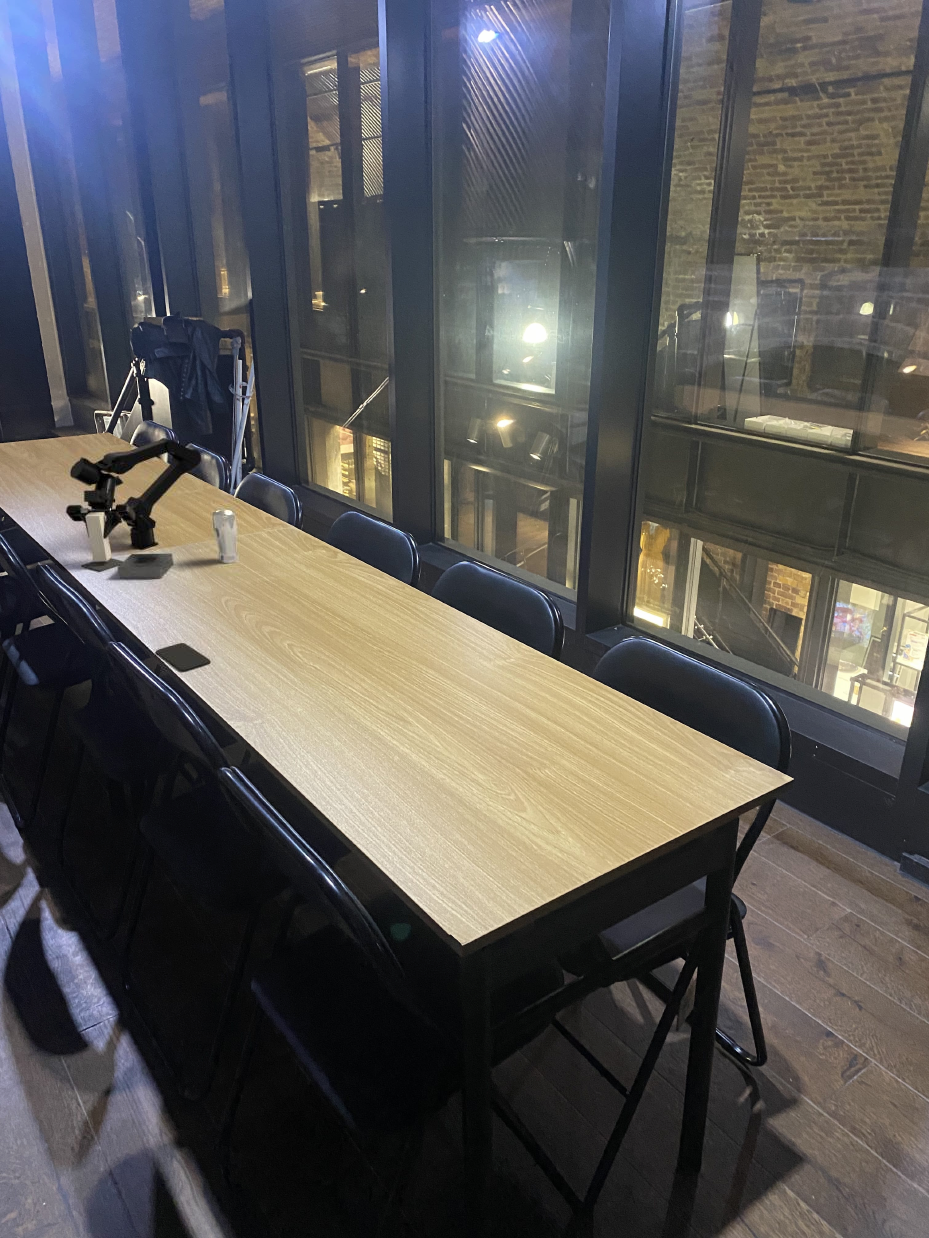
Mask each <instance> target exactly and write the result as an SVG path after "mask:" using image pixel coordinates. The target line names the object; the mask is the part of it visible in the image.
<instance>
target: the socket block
mask: <svg viewBox="0 0 929 1238" xmlns="http://www.w3.org/2000/svg"><path fill="white" fill-rule="evenodd" d="M123 561H124V562H123V563H121V564H120V565H119V566H117V573H118V577H119V578H118V580H119V579H120V580H121V579H122V580H123V579H126V580H128V579H130V580H131V579H133V580H134V579H137V580H138V579H162V578H163V577H164V576H165V575H166V574H167V572H168V571H170V570H171V568H172V567H173V566H174V560H173V554H172V553H131V554H130V555H129V556H127V558H126V559H125V560H123Z"/></svg>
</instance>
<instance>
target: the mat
mask: <svg viewBox="0 0 929 1238" xmlns="http://www.w3.org/2000/svg"><path fill="white" fill-rule="evenodd" d="M124 561H125V560H120V559H116V558H113V557H111V558H110V559H109V560H108V561H93V560H92V561H90V562H86V563H83V564H81V565H80V567H81V568H84V569H88V570H91V571H95V572H99V573H101V572H104V571H108V570H110V569H113V568H116V567H117V568H118V566H119V565H120V564H121V563H123V562H124Z"/></svg>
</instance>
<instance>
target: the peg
mask: <svg viewBox="0 0 929 1238" xmlns="http://www.w3.org/2000/svg"><path fill="white" fill-rule="evenodd" d="M85 517H86V522H87V528H88V533H87V535H88V534H89V537H88V539H89V542H90V543H89V544H90V550H91V555H92V561H108V560H109V559H110V558H113V557H112V552H111V550H112V549H111V546H110V541H109V535H108V536H107V538H106V539H104V538H103V533H104V527H105V523H106V516H105V515H104V512H90V513H89V514H88V515H86V516H85Z"/></svg>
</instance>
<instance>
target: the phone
mask: <svg viewBox="0 0 929 1238" xmlns="http://www.w3.org/2000/svg"><path fill="white" fill-rule="evenodd" d="M155 653H156V655H157V656H159V657H160V658H162V659H163V660H164V661H165V662H167V663H169V664H170V665H171V666H172V667H174V668H175V669H176V670H177V671H179V672H181V673H186V672H189V671H194V670H195V669H200V668H202V667H205V666H208V665H210V664H211V662H212V661H211V659H209V658H207V657H206V656H205V655H203V654H202V653H200V652H198V651H197V650H196V649H194V648H193V647H191V646H190V645H188V644H187V643H185V642H180V643H179V642H178V643H175V644H173V645H169V646H165V647H162V648H159V649H157V650H156V651H155Z"/></svg>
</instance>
